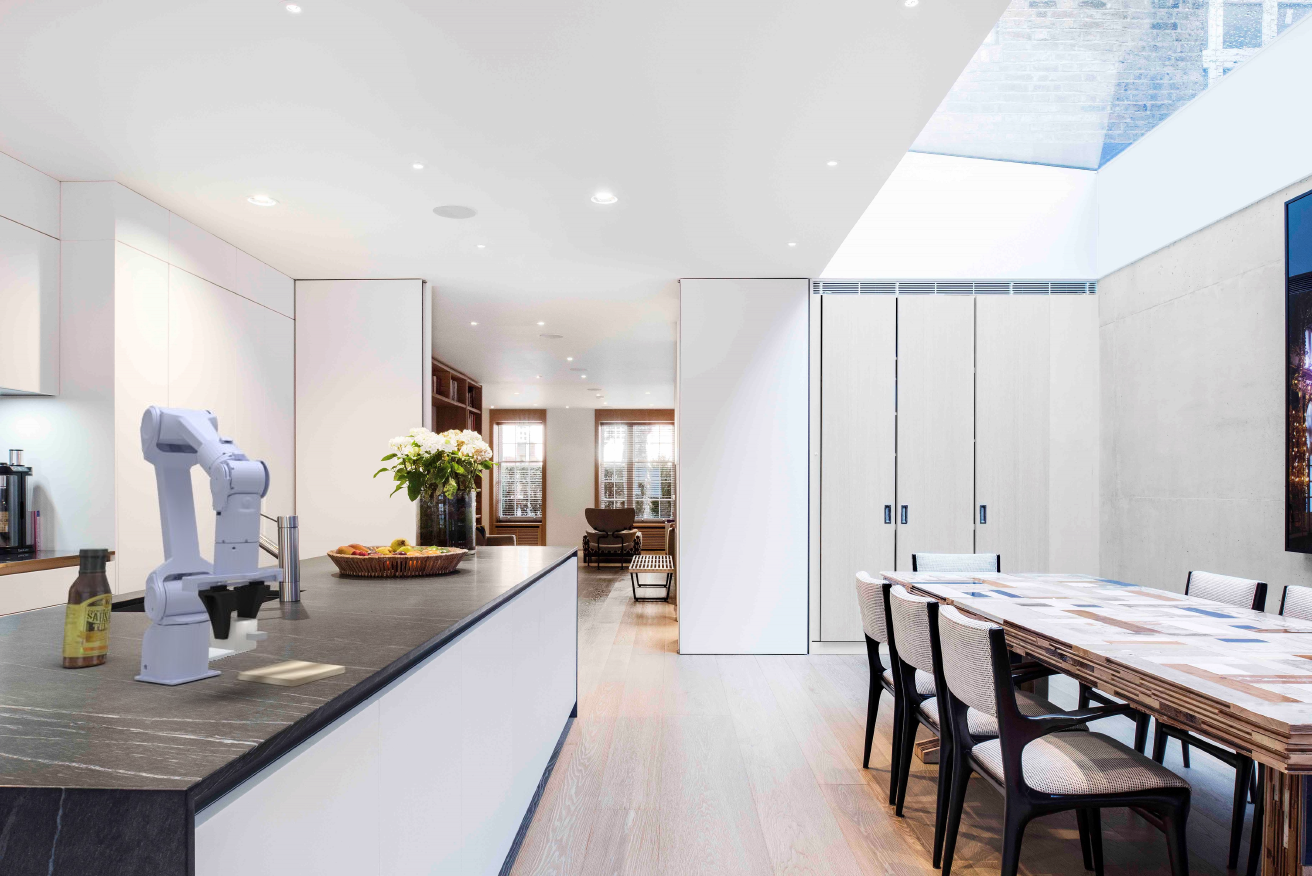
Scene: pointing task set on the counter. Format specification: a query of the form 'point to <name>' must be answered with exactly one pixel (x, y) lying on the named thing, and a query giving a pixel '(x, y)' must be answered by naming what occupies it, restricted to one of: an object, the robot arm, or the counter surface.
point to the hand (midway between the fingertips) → (232, 636)
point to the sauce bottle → (88, 612)
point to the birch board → (291, 673)
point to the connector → (239, 635)
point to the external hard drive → (221, 653)
